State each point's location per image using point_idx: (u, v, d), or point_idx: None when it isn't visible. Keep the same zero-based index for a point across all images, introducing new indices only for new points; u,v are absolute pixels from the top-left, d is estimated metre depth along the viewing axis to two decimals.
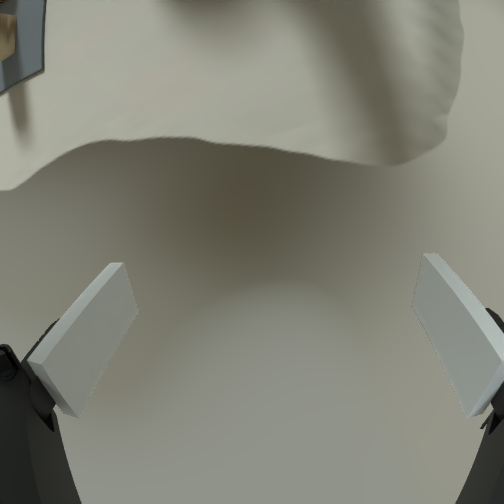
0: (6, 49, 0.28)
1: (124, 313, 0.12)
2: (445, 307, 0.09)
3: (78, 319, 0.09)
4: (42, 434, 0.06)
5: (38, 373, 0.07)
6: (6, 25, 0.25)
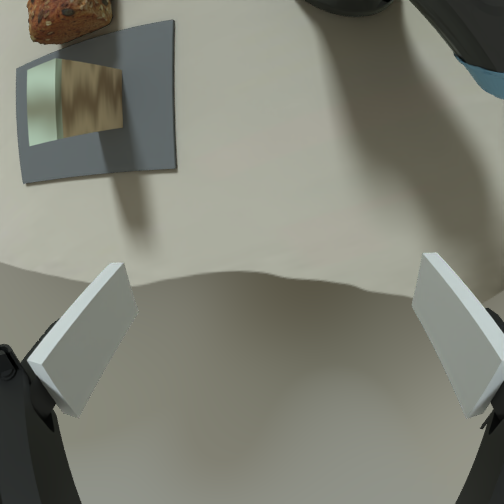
0: (114, 123, 0.32)
1: (124, 313, 0.12)
2: (445, 307, 0.09)
3: (78, 319, 0.09)
4: (42, 434, 0.06)
5: (38, 373, 0.07)
6: (112, 86, 0.30)
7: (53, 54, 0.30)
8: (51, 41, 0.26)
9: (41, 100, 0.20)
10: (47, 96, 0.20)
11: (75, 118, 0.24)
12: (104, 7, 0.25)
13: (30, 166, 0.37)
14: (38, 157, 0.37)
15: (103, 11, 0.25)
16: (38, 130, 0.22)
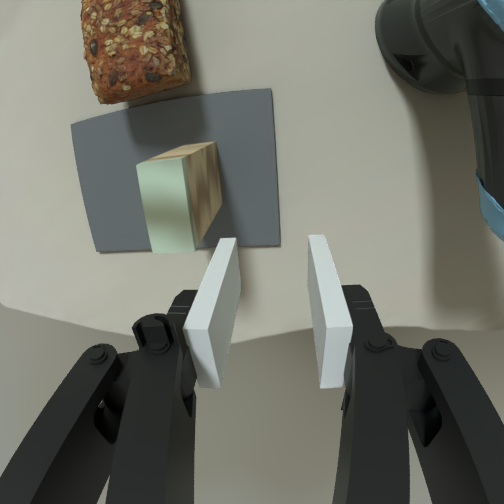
0: (218, 203, 0.36)
1: (237, 286, 0.14)
2: (313, 282, 0.12)
3: (221, 286, 0.11)
4: (182, 423, 0.07)
5: (193, 342, 0.09)
6: (213, 164, 0.34)
7: (121, 113, 0.34)
8: (120, 101, 0.30)
9: (166, 206, 0.24)
10: (175, 203, 0.24)
11: (200, 219, 0.28)
12: (185, 66, 0.29)
13: (105, 234, 0.42)
14: (115, 226, 0.41)
15: (186, 71, 0.29)
16: (165, 238, 0.26)
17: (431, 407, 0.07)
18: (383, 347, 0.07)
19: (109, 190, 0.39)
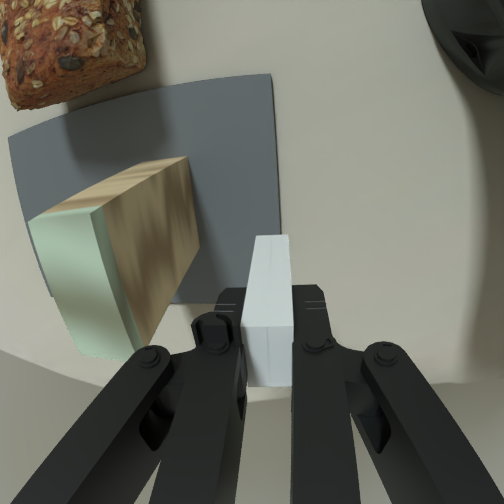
0: (192, 251, 0.24)
1: None
2: None
3: None
4: (234, 427, 0.07)
5: (249, 340, 0.09)
6: (182, 193, 0.22)
7: (61, 119, 0.22)
8: (48, 103, 0.19)
9: (82, 294, 0.13)
10: (94, 291, 0.12)
11: (150, 301, 0.16)
12: (134, 44, 0.17)
13: None
14: None
15: (133, 52, 0.17)
16: (92, 340, 0.14)
17: (382, 411, 0.07)
18: (322, 347, 0.07)
19: None
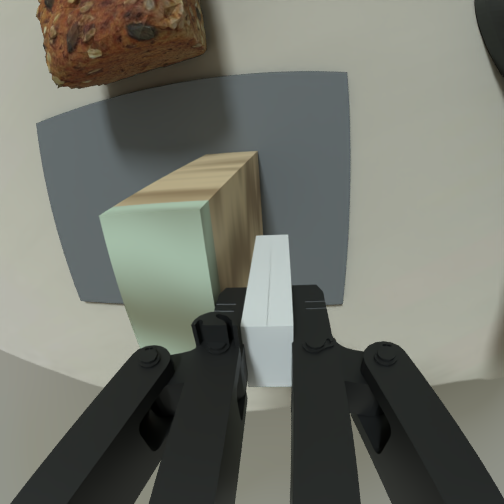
0: None
1: None
2: None
3: None
4: (234, 427, 0.07)
5: (249, 340, 0.09)
6: (255, 191, 0.21)
7: (106, 103, 0.21)
8: (92, 83, 0.17)
9: (169, 306, 0.11)
10: (188, 303, 0.11)
11: None
12: (200, 24, 0.16)
13: (90, 281, 0.29)
14: (103, 272, 0.28)
15: (200, 32, 0.16)
16: None
17: (382, 411, 0.07)
18: (322, 347, 0.07)
19: (91, 220, 0.26)
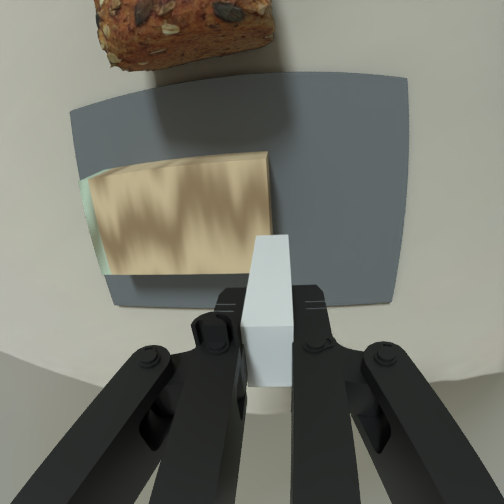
0: (240, 265, 0.22)
1: None
2: None
3: None
4: (234, 427, 0.07)
5: (249, 340, 0.09)
6: (228, 198, 0.20)
7: (157, 92, 0.20)
8: (145, 66, 0.17)
9: None
10: None
11: (128, 254, 0.22)
12: None
13: (128, 283, 0.28)
14: None
15: None
16: None
17: (382, 411, 0.07)
18: (322, 347, 0.07)
19: None
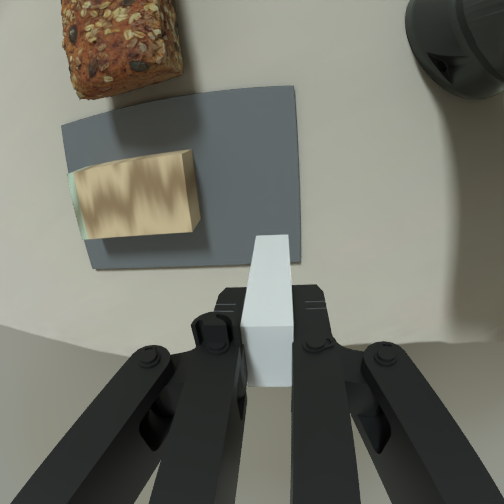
0: (171, 227, 0.31)
1: None
2: None
3: None
4: (234, 427, 0.07)
5: (249, 340, 0.09)
6: (159, 181, 0.29)
7: (119, 112, 0.29)
8: (103, 96, 0.26)
9: None
10: None
11: (99, 223, 0.31)
12: (177, 55, 0.24)
13: (102, 250, 0.37)
14: (113, 242, 0.36)
15: (178, 61, 0.24)
16: None
17: (382, 411, 0.07)
18: (322, 347, 0.07)
19: None
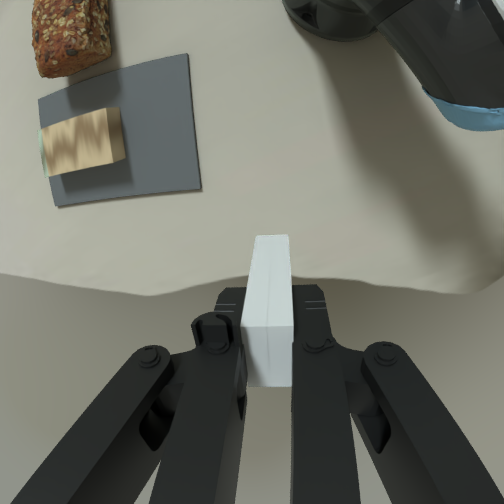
0: (99, 160, 0.38)
1: None
2: None
3: None
4: (234, 427, 0.07)
5: (249, 340, 0.09)
6: (92, 128, 0.36)
7: (74, 86, 0.37)
8: (58, 75, 0.33)
9: None
10: None
11: (56, 163, 0.38)
12: (103, 43, 0.31)
13: (61, 190, 0.44)
14: (69, 182, 0.44)
15: (103, 47, 0.32)
16: None
17: (382, 411, 0.07)
18: (322, 347, 0.07)
19: None
